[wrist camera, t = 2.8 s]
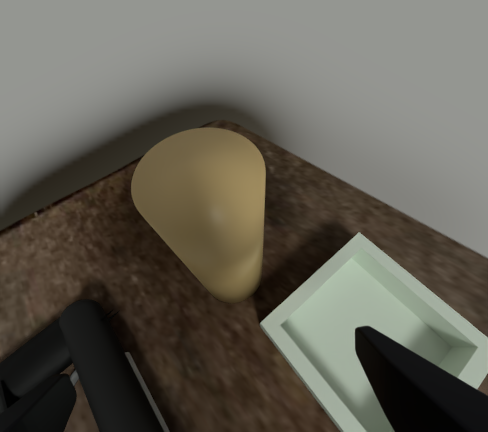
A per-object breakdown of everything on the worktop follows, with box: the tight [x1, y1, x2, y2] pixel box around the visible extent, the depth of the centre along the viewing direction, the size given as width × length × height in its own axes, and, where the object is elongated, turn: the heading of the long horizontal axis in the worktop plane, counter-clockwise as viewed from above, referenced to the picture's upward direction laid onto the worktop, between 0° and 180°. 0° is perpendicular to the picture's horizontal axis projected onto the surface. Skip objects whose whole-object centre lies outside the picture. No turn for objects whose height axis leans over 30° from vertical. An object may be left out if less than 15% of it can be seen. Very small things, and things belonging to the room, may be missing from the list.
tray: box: [260, 233, 488, 432], centre depth 17 cm, size 11×11×3 cm
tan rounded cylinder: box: [131, 128, 266, 303], centre depth 15 cm, size 5×5×14 cm
